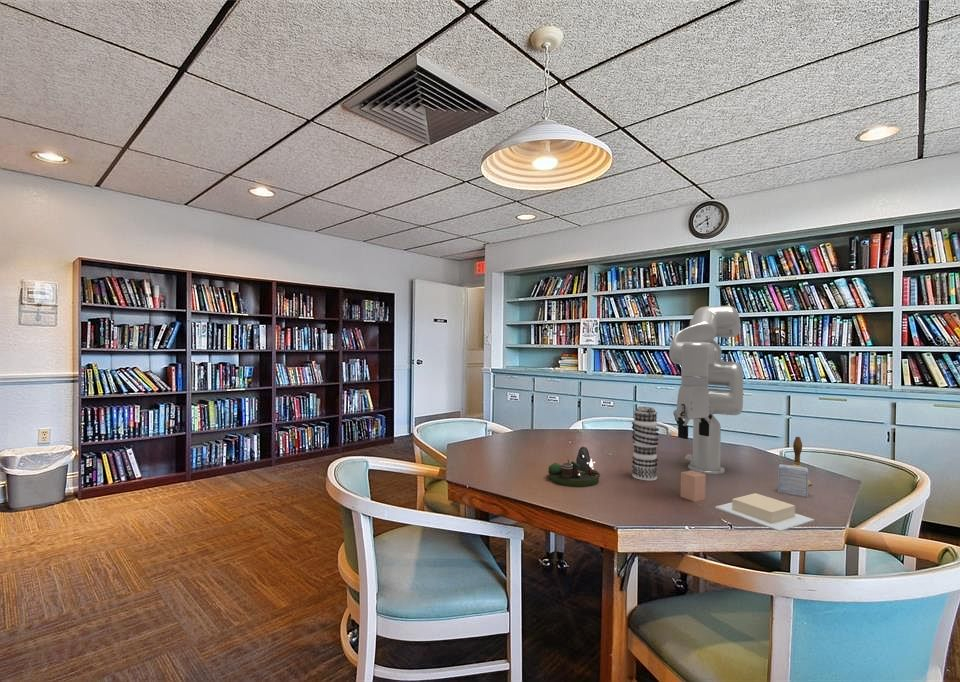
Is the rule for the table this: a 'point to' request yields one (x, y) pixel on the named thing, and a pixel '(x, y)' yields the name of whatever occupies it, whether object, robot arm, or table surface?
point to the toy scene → (575, 471)
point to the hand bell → (798, 453)
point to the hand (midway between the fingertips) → (693, 436)
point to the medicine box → (793, 480)
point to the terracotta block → (693, 485)
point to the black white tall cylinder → (645, 444)
